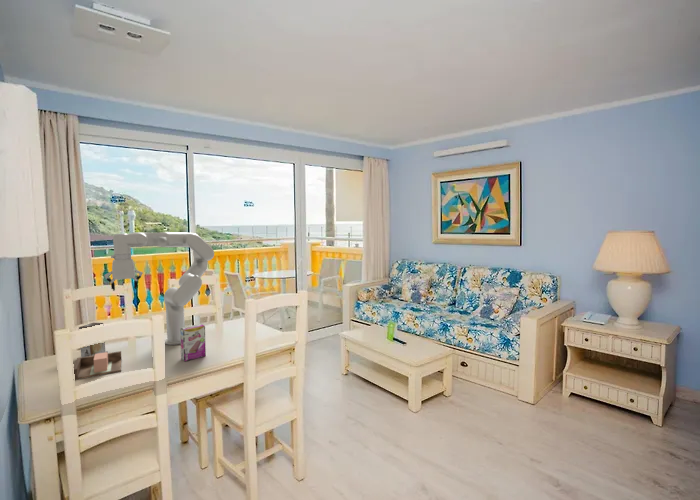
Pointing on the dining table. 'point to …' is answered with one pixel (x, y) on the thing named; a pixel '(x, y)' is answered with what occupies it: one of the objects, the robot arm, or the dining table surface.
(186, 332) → the candy bar box
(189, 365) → the dining table surface
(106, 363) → the bar
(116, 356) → the tray
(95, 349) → the coffee box
